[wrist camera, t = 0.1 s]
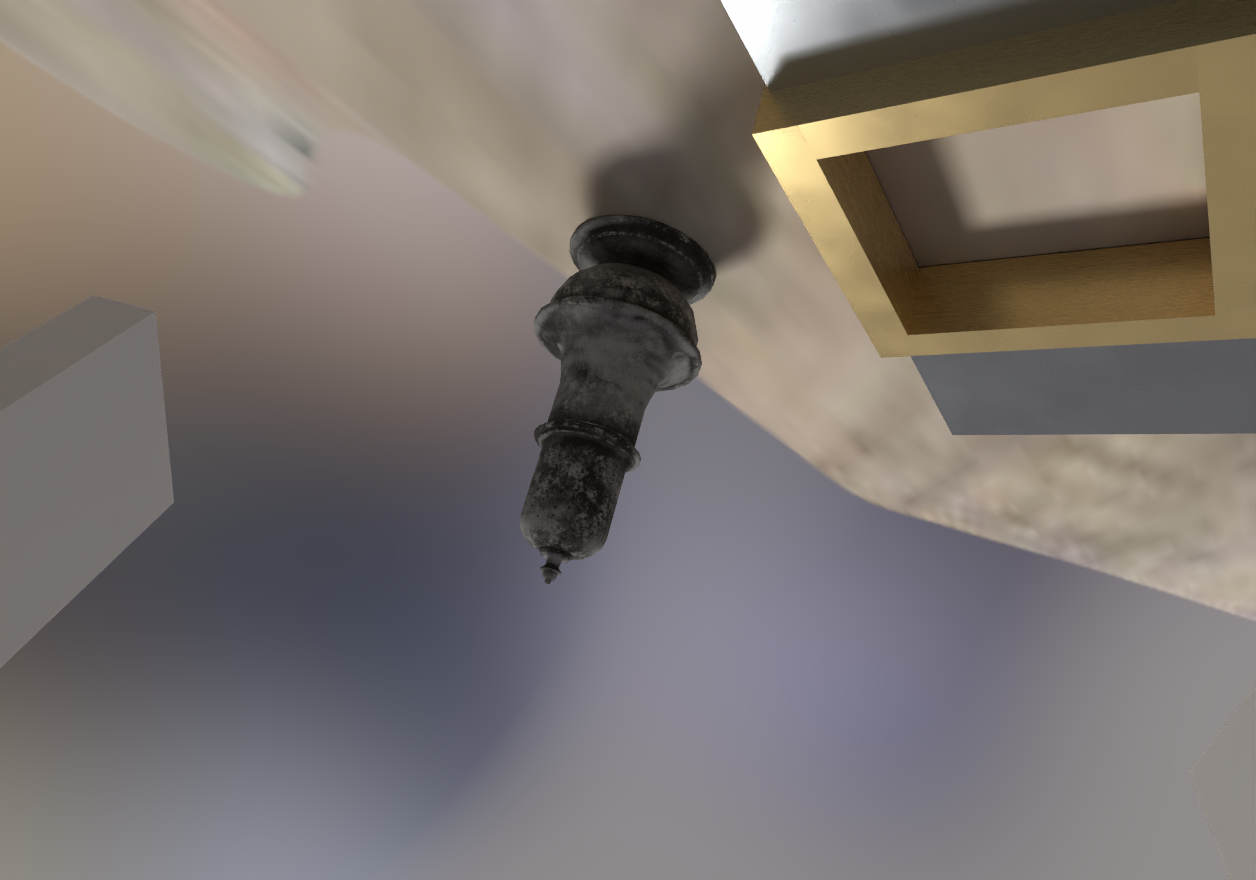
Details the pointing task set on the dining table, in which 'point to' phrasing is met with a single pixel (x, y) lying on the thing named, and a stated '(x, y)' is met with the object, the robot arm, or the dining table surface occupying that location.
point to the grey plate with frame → (1036, 285)
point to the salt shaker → (609, 373)
